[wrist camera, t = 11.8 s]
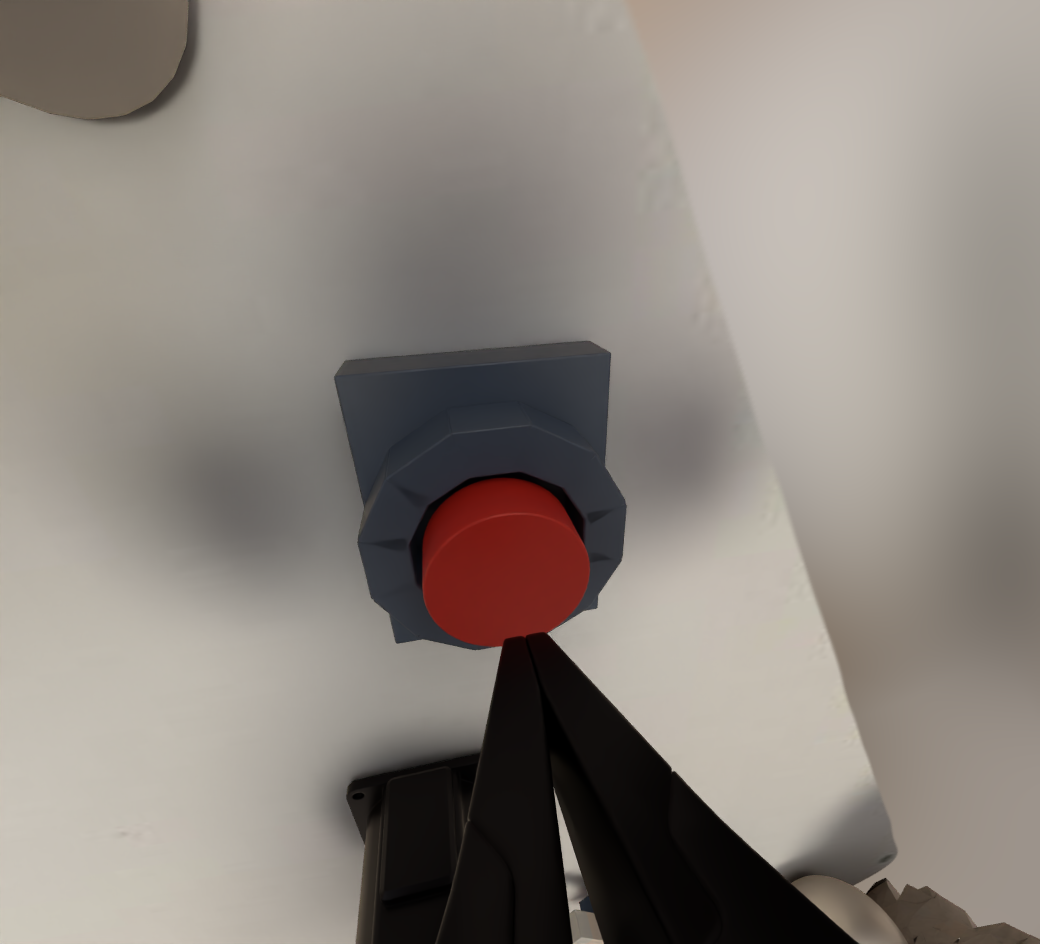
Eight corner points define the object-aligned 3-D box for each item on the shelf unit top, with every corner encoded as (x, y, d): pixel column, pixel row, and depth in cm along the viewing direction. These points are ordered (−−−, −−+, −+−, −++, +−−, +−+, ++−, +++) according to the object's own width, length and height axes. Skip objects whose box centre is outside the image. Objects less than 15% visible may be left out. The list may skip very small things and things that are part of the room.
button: (569, 587, 13) (588, 632, 12) (433, 610, 13) (434, 661, 11) (570, 467, 11) (594, 501, 10) (411, 487, 11) (409, 527, 9)
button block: (582, 577, 17) (617, 649, 14) (398, 608, 16) (392, 692, 13) (590, 340, 13) (641, 368, 10) (344, 360, 12) (317, 399, 9)
